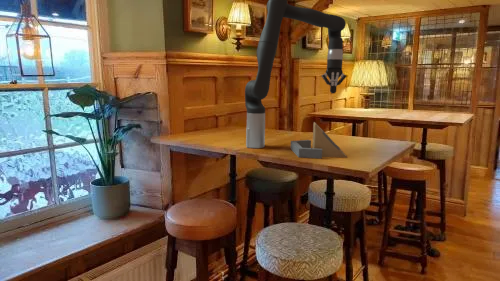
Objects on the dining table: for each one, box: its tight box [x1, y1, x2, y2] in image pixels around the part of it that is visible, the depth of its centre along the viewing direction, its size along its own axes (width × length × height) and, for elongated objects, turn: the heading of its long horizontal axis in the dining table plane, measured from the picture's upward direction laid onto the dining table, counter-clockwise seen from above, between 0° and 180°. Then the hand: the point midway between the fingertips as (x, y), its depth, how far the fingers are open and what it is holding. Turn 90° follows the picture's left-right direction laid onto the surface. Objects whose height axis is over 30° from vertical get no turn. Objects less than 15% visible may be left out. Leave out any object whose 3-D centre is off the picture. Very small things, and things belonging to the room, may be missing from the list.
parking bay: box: [290, 139, 323, 159], centre depth 169 cm, size 10×24×4 cm, turn 5°
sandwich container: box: [311, 121, 348, 158], centre depth 164 cm, size 9×15×15 cm, turn 85°
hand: (332, 93), depth 185 cm, fingers closed
